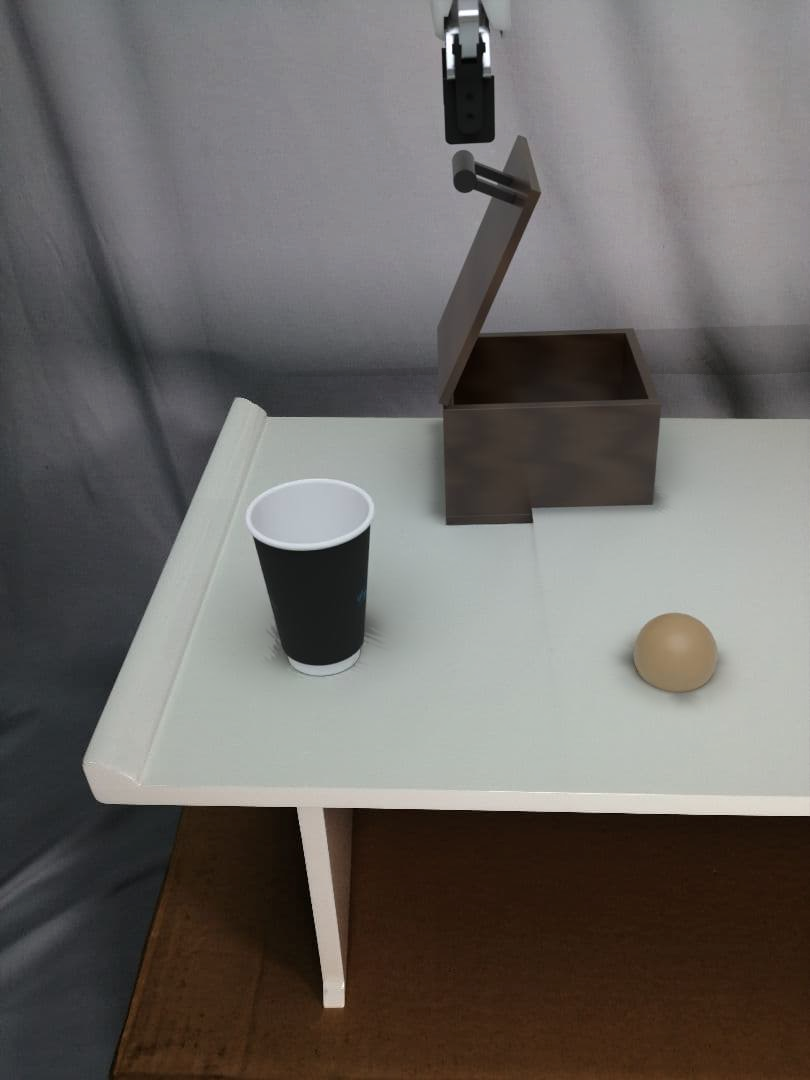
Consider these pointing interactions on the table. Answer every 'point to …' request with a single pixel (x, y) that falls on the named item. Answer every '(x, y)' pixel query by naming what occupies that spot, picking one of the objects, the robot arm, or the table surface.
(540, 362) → the box
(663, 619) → the tan ball
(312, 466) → the table surface
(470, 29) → the robot arm
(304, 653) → the dixie cup
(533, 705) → the table surface
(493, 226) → the box lid
